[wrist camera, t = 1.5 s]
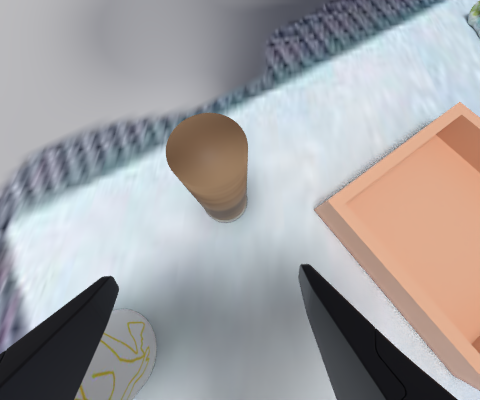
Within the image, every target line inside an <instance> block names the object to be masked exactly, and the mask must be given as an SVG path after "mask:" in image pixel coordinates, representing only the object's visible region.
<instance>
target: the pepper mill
mask: <svg viewBox="0 0 480 400" xmlns="http://www.w3.org/2000/svg"><path fill="white" fill-rule="evenodd" d="M166 158H167V162H168V165H169V167H170V168H171V170H172V171H173V173H174V174H175V175H176V176H177V177H178V179H179V180H180V181H181V182H182V183H183V184H184V186H185V187H186V188H187V189H188V190H189V191H190V192H191V194H192V195H193V196H194V197H195V198H196V199H197V201H198V202H199V203H200V204H201V205H202V206H203V207H204V209H205V210H206V212H207V213H208V215H209V216H210V217H211V218H213V219H214V220H216V221H218V222H223V223H228V222H232V221H235V220H237V219H238V218H239V217H241V216H242V214H243V213H244V211H245V209H246V206H247V162H248V143H247V138H246V135H245V133H244V131H243V130H242V128H241V127H240V126H239V125H238V124H237V123H236V122H235V121H234V120H232V119H230V118H229V117H226V116H224V115H221V114H216V113H203V114H198V115H194V116H192V117H189V118H187V119H186V120H184V121H183V122H181V123H180V124H179V125H178V126H177V127H176V128H175V129H174V130H173V132H172V133H171V135H170V137H169V139H168V141H167V145H166Z"/></svg>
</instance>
